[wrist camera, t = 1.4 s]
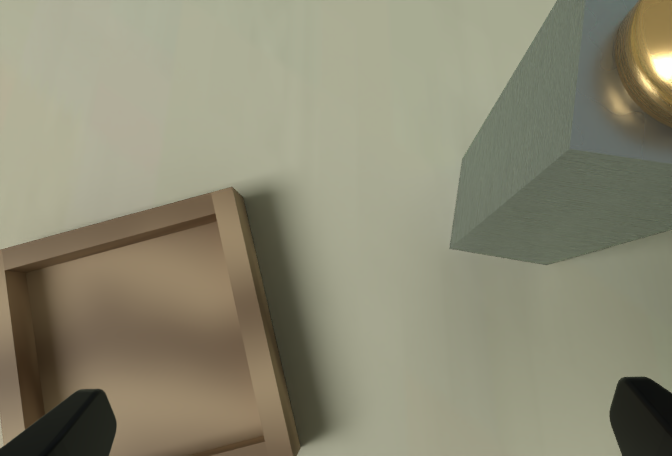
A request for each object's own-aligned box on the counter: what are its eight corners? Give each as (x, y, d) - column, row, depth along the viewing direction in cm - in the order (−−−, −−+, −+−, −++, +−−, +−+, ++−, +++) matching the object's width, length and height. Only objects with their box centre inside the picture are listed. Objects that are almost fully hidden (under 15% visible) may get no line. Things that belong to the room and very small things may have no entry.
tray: (300, 447, 22) (293, 460, 20) (45, 514, 22) (14, 533, 20) (243, 197, 24) (231, 186, 22) (12, 259, 24) (-19, 254, 22)
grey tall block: (546, 265, 23) (880, 169, 8) (449, 248, 23) (593, 129, 8) (556, 172, 23) (880, -72, 9) (462, 158, 24) (615, -99, 9)
